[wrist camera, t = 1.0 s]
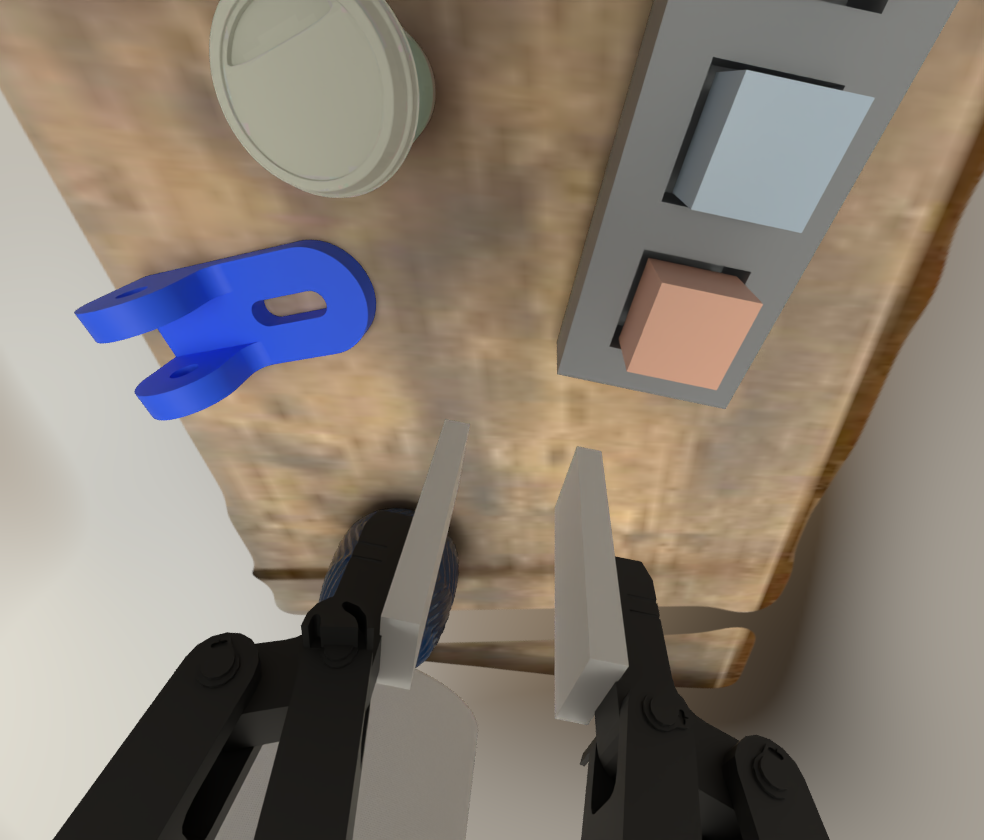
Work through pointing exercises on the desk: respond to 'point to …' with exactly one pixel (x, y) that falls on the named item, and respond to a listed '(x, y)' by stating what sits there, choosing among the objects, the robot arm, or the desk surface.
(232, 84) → the coffee cup
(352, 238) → the desk surface
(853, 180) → the grey socket block
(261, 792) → the lamp
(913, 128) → the desk surface
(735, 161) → the slate key
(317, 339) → the bracket
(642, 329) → the terracotta key
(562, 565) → the robot arm
